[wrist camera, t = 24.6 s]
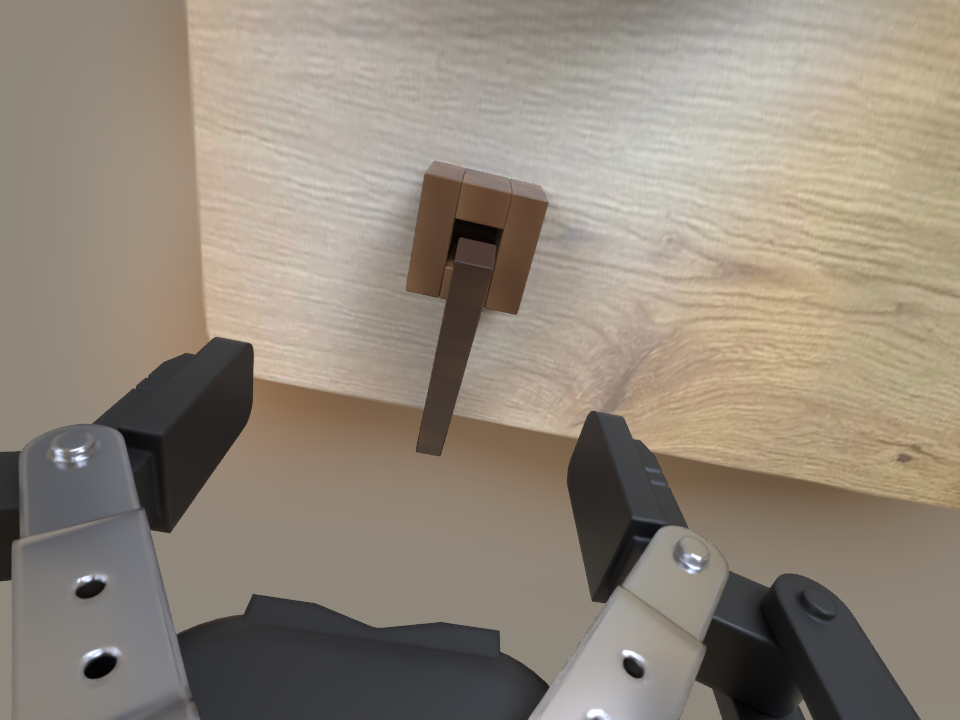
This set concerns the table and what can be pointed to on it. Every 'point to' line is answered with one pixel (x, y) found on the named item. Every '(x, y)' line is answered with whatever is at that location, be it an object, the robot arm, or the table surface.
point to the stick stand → (482, 203)
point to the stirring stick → (455, 339)
